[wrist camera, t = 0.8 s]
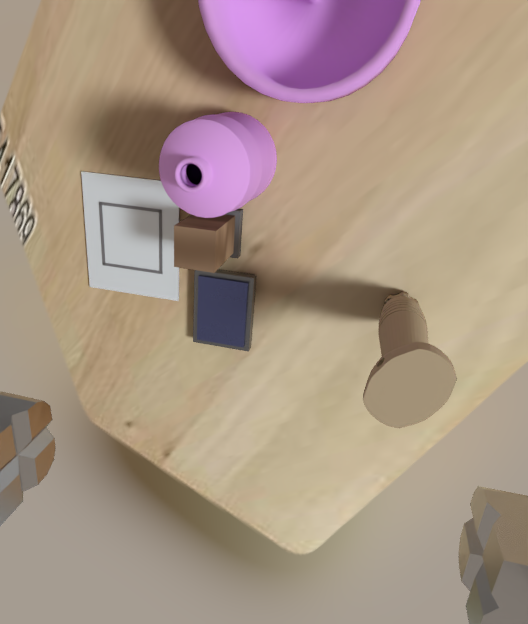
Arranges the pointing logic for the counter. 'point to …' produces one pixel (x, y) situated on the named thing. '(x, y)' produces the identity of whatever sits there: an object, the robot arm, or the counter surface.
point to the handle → (407, 367)
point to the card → (130, 235)
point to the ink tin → (224, 308)
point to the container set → (275, 86)
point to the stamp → (207, 241)
